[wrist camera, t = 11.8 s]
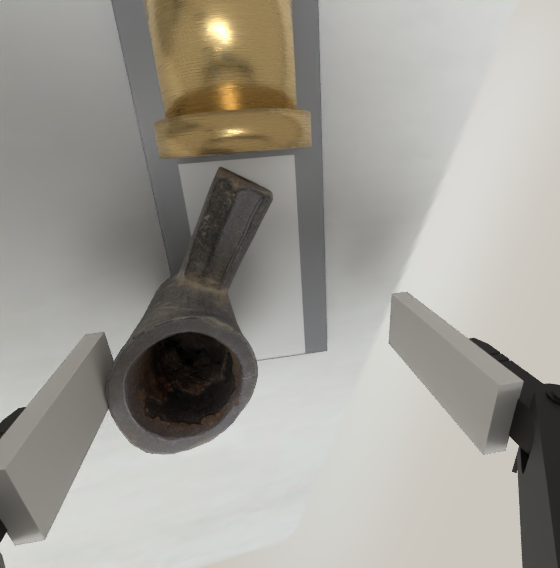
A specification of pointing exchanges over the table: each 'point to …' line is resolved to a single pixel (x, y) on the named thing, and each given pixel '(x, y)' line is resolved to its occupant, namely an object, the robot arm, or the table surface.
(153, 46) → the cylinder
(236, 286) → the base
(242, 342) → the pipe
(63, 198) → the table surface
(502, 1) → the table surface
